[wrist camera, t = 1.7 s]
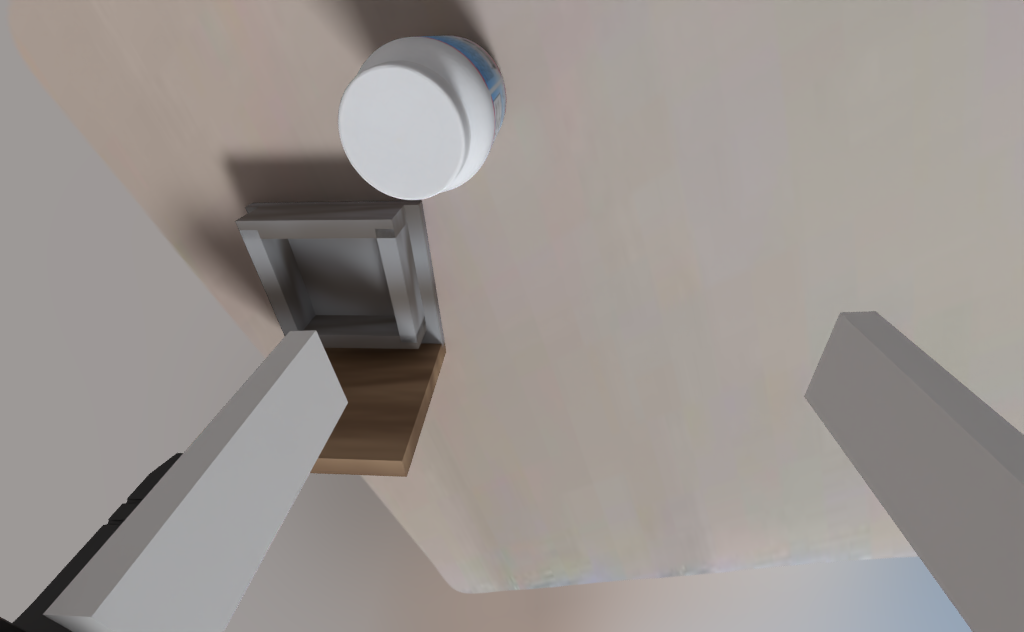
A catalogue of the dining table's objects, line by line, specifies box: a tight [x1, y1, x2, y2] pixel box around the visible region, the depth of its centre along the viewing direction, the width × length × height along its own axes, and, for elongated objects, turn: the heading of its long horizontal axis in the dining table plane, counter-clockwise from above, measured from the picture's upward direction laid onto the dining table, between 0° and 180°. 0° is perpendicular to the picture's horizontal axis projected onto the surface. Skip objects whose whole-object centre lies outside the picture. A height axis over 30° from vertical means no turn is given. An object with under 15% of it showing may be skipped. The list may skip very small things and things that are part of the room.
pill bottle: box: [338, 35, 506, 200], centre depth 19 cm, size 6×6×11 cm
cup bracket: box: [235, 201, 446, 477], centre depth 27 cm, size 13×12×12 cm
